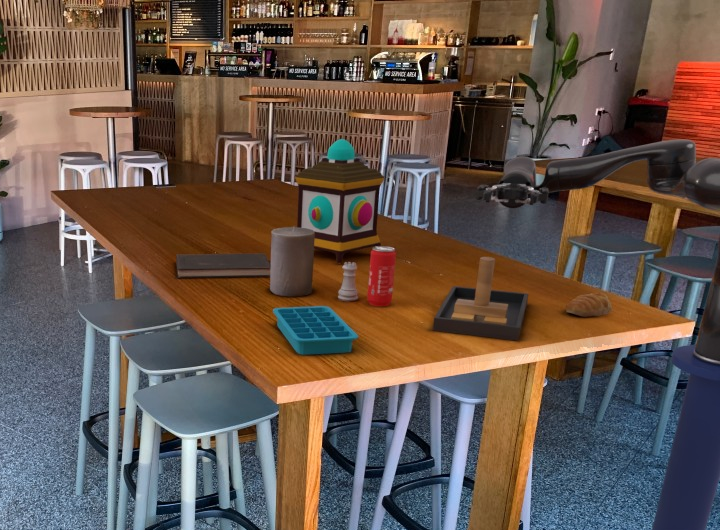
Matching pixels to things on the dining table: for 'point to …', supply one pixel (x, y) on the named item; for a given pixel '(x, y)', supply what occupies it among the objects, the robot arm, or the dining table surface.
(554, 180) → the robot arm
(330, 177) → the decorative lantern
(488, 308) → the brush
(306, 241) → the pillar candle
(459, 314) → the light wooden block
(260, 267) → the hardcover book
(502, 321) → the block
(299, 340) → the ice cube tray
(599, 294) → the pastry
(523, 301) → the tray
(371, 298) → the beverage can
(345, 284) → the rook chess piece
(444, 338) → the dining table surface
